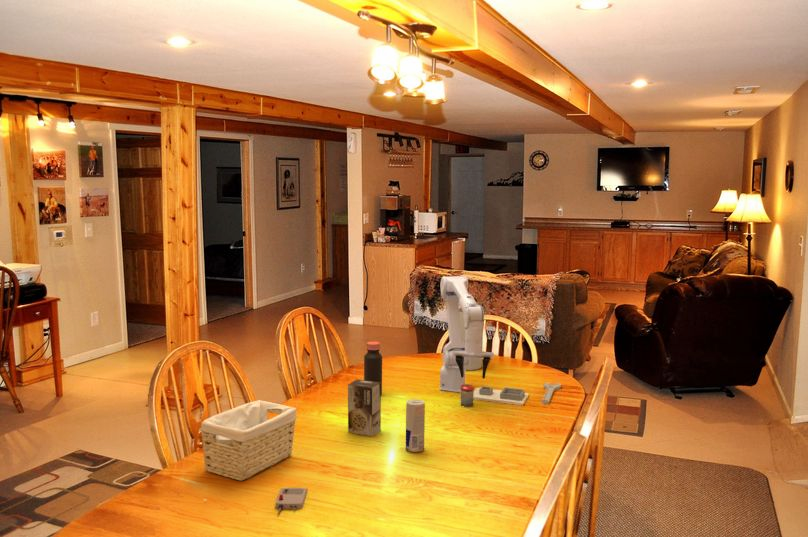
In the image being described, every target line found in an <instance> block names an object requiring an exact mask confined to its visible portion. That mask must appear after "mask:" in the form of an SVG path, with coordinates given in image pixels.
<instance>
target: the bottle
mask: <svg viewBox="0 0 808 537" xmlns="http://www.w3.org/2000/svg"><path fill="white" fill-rule="evenodd" d="M380 350H381V342H379V341H368V342H366V351H367V352H366V353H365V355H363V380H366V381H373V382H380V383H381V396H382V395H383V355H382V354H381V353H380Z"/></svg>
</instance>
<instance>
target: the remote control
mask: <svg viewBox="0 0 808 537" xmlns="http://www.w3.org/2000/svg"><path fill="white" fill-rule="evenodd" d="M307 493H308V488H305V487H282V488H280V491H279V493H278V496H277V499H276V501H275V508H276V509H278V510H277V511H278V512H277V514H278V515H279V514H280V512H281V511H282V510H293V511H295V510H299V509H303V507H304V503H305V500H306V496H307Z"/></svg>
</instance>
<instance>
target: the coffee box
mask: <svg viewBox="0 0 808 537" xmlns="http://www.w3.org/2000/svg"><path fill="white" fill-rule="evenodd" d="M381 397H382V395H381V383H380V382H373V381H366V380H364V379H358V378H357V379H355V380H353V381H351V382H349V383H348V384H347V432H348V433H349V434H350V433H351V434H357V435H362V436H367V437H374V436H375V435H377V434H379V432H381V430H382V428H381V425H382V424H381V422H382V421H381V420H382V419H381V417H382V415H381V414H382V411H381V410H382V408H381V405H382V401H381V399H382V398H381Z"/></svg>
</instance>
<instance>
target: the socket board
mask: <svg viewBox="0 0 808 537" xmlns="http://www.w3.org/2000/svg"><path fill="white" fill-rule="evenodd" d="M525 391H526V390H525V389H522V388H521V389H520V388H514V387H513V388H512V387H503V389H502V390H501V389H494V387H492V386H485V385H484V386H483V385H482V386H480V387H476V388H474V393H473V399H474V400H473V401H480V400H483V401H482V402H488V401H491V403H496V402H497V404H504V403H506V404H505V405H512V404H514V405H513V406H521V405H522V407H523V406H524V405H523V404H525V403H526V402H527V400H526V399H528V397H529V396H530V393H527V392H526V393H525Z"/></svg>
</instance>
